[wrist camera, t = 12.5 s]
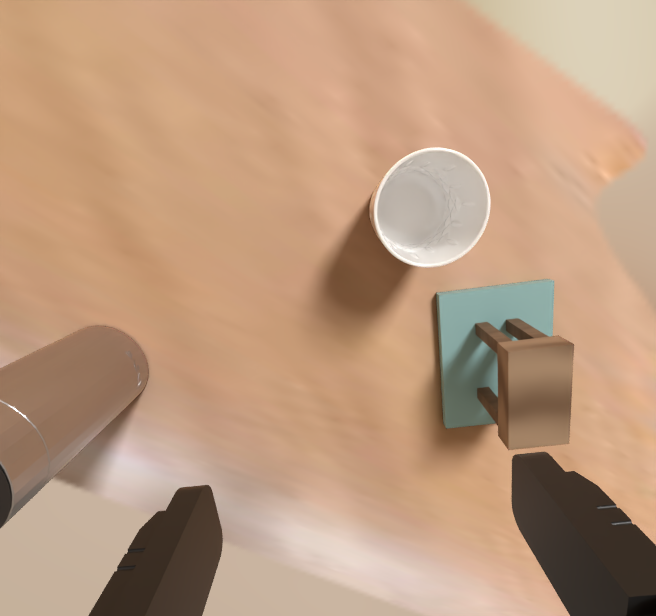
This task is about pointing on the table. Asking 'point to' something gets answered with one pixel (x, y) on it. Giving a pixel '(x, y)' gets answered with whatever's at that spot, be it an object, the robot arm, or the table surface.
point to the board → (471, 352)
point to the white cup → (430, 207)
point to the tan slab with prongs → (529, 385)
